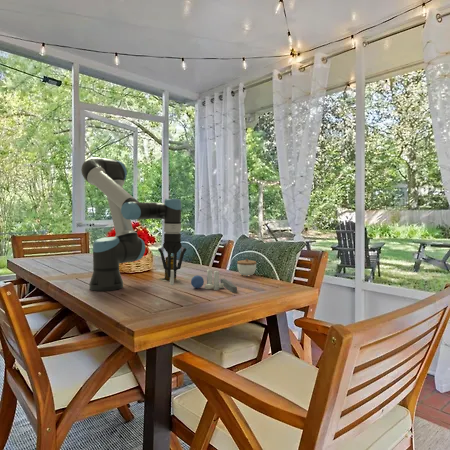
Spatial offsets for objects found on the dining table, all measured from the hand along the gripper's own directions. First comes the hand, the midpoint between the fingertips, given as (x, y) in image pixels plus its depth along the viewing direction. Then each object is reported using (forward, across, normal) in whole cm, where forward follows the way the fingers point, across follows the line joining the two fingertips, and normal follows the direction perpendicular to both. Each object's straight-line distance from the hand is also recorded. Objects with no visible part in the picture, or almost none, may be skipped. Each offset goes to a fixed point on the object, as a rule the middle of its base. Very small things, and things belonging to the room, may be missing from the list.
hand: (171, 284), depth 171 cm
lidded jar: (+3, +46, +29) cm, 55 cm away
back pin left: (+3, +18, +2) cm, 19 cm away
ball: (0, +12, +3) cm, 13 cm away
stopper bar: (+3, +27, 0) cm, 27 cm away
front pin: (+2, +16, 0) cm, 16 cm away
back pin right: (+3, +20, -3) cm, 21 cm away
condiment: (+4, +2, +27) cm, 27 cm away
